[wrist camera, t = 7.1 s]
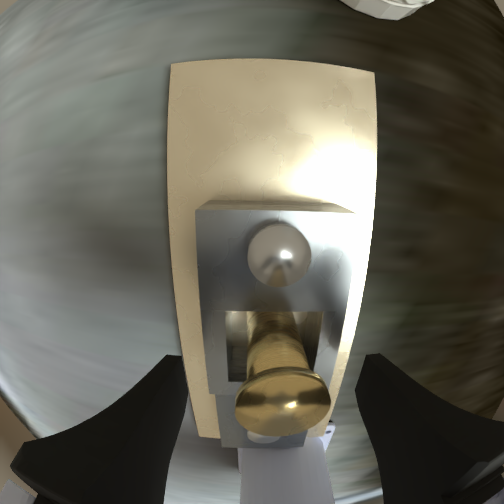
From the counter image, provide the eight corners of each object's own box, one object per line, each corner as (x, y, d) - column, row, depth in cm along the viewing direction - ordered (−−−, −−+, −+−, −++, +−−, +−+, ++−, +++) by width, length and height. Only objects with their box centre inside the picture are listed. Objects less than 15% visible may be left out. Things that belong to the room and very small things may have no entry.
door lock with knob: (321, 427, 19) (330, 471, 14) (200, 427, 19) (192, 472, 14) (366, 78, 11) (408, 48, 7) (176, 70, 11) (144, 33, 7)
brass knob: (297, 338, 15) (321, 432, 8) (239, 339, 15) (236, 437, 8) (302, 287, 14) (339, 375, 7) (238, 287, 14) (233, 379, 7)
